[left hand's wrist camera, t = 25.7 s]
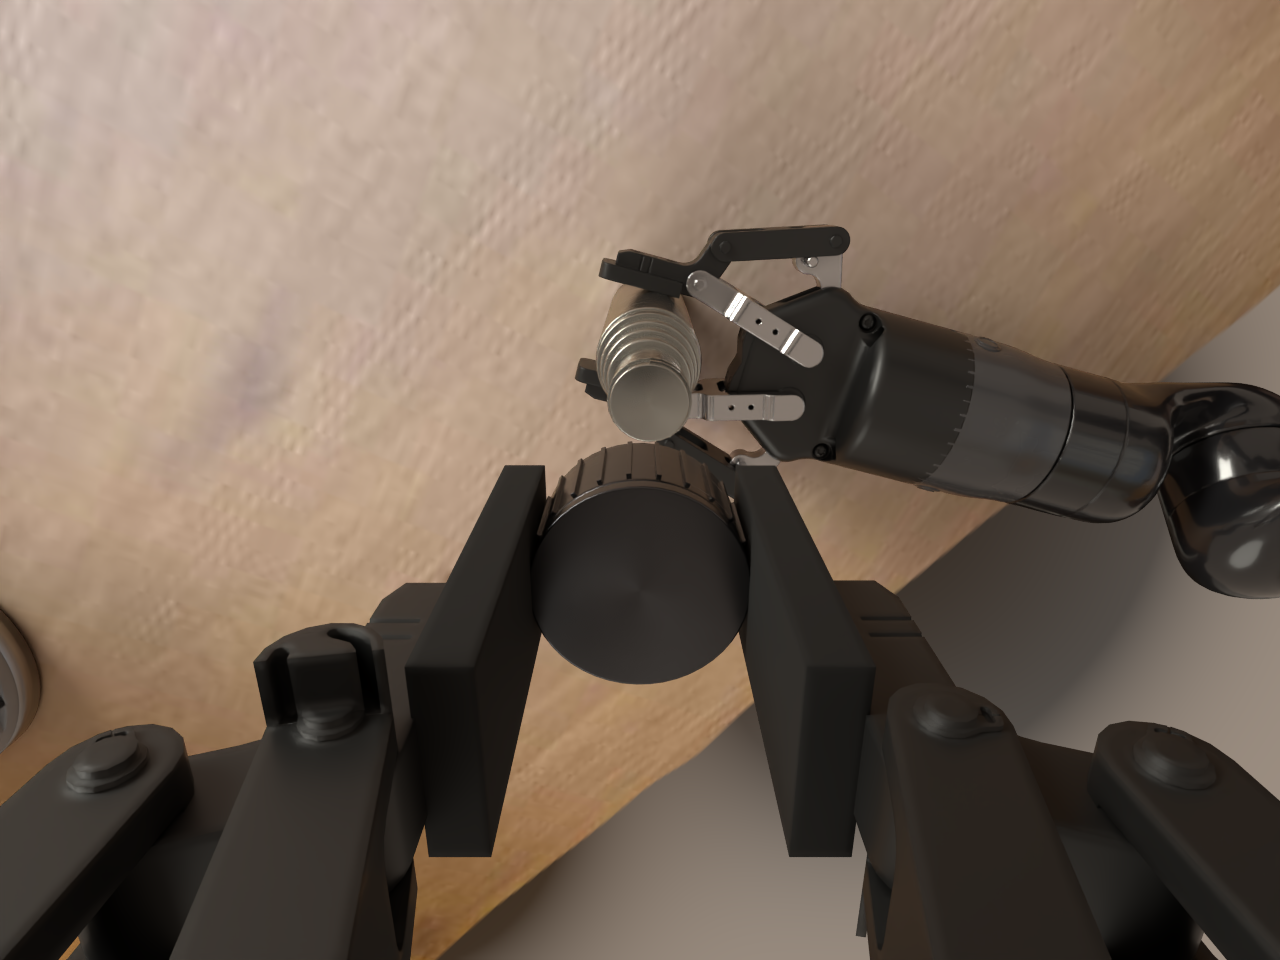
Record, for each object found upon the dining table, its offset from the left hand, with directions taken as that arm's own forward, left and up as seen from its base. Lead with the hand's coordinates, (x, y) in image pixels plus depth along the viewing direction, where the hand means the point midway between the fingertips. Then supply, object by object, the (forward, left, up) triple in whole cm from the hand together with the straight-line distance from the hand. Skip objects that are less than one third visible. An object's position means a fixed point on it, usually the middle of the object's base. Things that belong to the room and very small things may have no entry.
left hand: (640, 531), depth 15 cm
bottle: (0, 0, -28) cm, 28 cm away
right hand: (-1, +2, -22) cm, 22 cm away
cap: (0, 0, +2) cm, 2 cm away
